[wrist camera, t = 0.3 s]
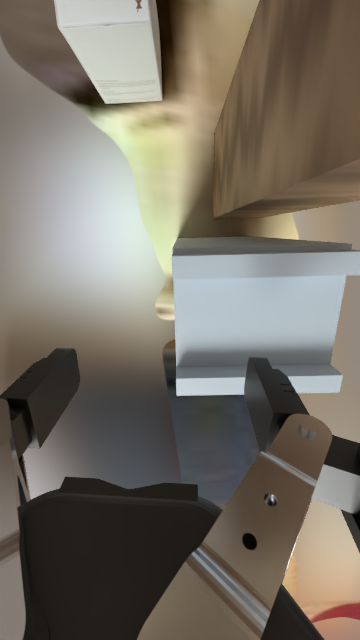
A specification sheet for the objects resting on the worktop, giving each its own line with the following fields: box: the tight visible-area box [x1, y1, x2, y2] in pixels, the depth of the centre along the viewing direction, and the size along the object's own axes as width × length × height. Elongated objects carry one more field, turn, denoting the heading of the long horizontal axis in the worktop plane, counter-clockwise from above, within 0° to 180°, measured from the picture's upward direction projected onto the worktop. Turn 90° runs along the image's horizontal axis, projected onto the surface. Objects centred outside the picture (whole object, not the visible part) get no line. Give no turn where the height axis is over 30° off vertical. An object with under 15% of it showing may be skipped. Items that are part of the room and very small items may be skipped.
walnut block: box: [213, 0, 360, 218], centre depth 19 cm, size 10×7×32 cm
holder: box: [172, 236, 360, 396], centre depth 26 cm, size 9×10×25 cm
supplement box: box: [54, 0, 162, 104], centre depth 25 cm, size 7×7×13 cm
